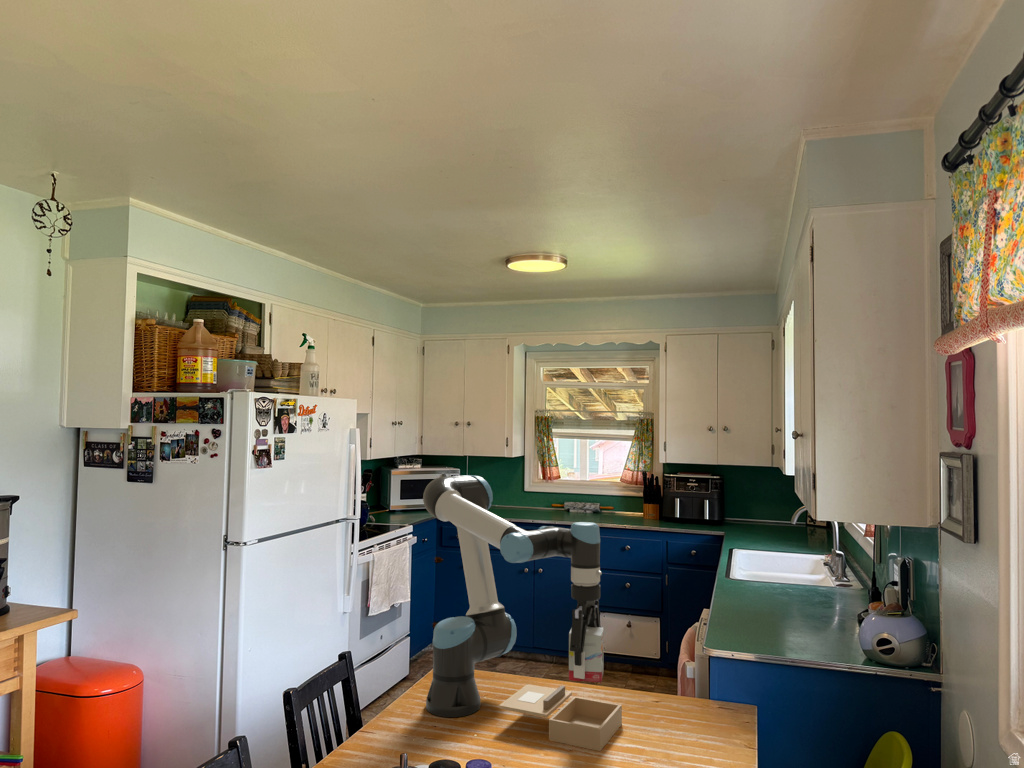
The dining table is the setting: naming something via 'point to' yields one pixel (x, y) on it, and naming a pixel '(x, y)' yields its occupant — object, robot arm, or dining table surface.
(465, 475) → the robot arm
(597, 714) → the box
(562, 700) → the lid
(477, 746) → the dining table surface
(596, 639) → the ink box
